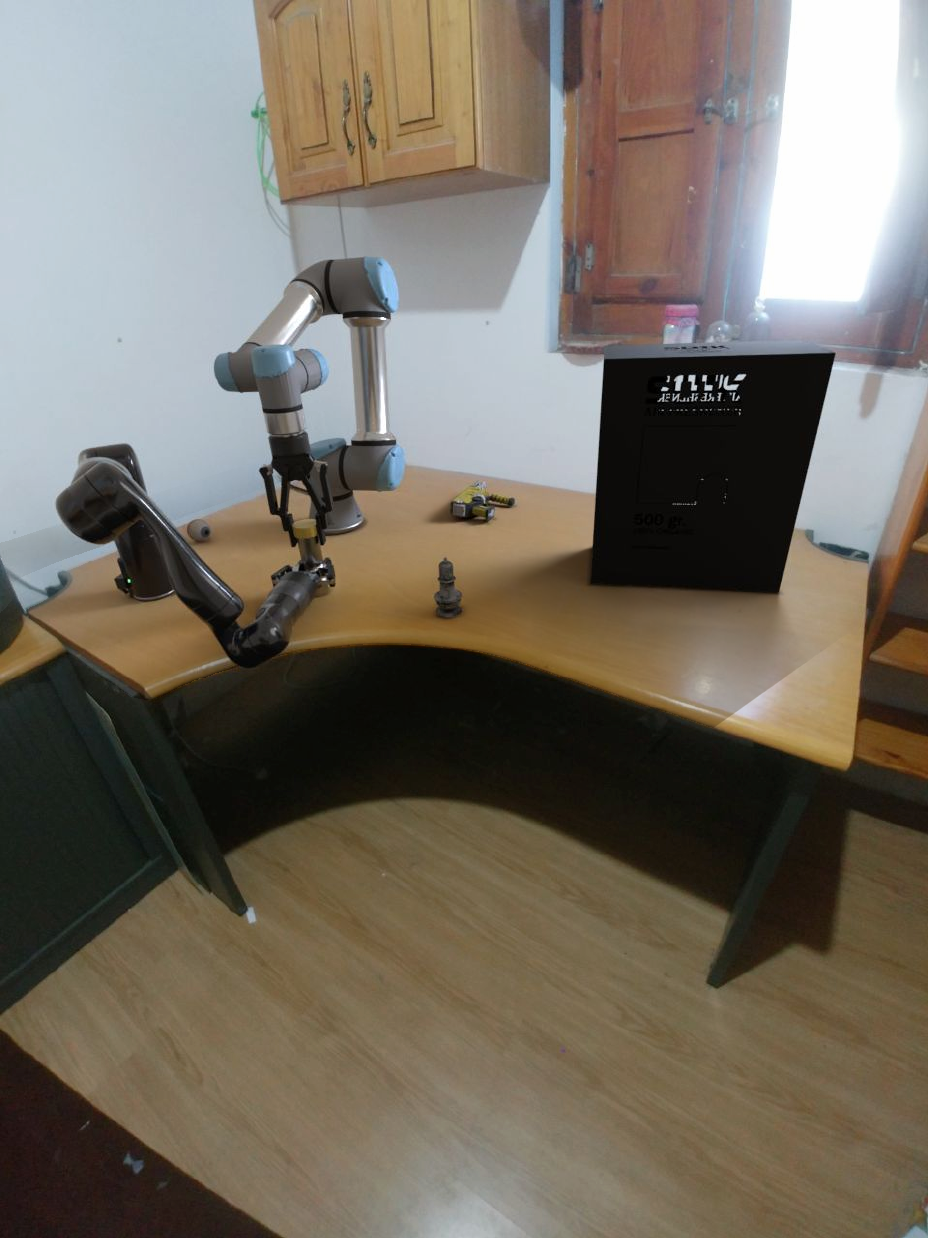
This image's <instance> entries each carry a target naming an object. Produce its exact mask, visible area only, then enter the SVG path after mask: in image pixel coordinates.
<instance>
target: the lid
mask: <svg viewBox="0 0 928 1238" xmlns="http://www.w3.org/2000/svg"><path fill="white" fill-rule="evenodd" d="M292 529H293V534H294V537H296V538H300V539H305V538H311V537H315V536H317V535H318V530H317V525H316V520H315V519H309V518H305V519H300V520H296V521H294V523H293V524H292ZM318 536H319V535H318Z"/></svg>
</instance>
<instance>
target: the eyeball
mask: <svg viewBox="0 0 928 1238" xmlns="http://www.w3.org/2000/svg"><path fill="white" fill-rule="evenodd" d="M186 533H187V535H188V537H189V538H190V539H191V540H192V541H194V542H205V541H207V540H208V539H209V538H210V537H211V534H212V527H211V524H210V523H209V522H207V520H204V519H201V518H195V519H193V520H191V521H190V522H189V523H187V527H186Z"/></svg>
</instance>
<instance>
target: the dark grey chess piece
mask: <svg viewBox="0 0 928 1238" xmlns="http://www.w3.org/2000/svg"><path fill="white" fill-rule="evenodd" d="M454 573H455V572H454V563H452V561H450V560H448V558H447V557H446V556H445V557H443V560H442V561H440V562H439V564H438V577H437V581H438V583H439V590H438V591H436V592H435V593H434V594H433V599H434V601H435V605H437V606H438V607H437V608H436V610H435V613H436V615H437V616H439V617H442V618H454V617H457V616H459V615H461V614H462V611H463V608H462V607H461V606H460V604H461V601H462V598H463V592H462V591H460V589H456V583H455V581H456V579H457V577H456V576H455V575H454Z"/></svg>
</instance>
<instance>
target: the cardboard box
mask: <svg viewBox="0 0 928 1238" xmlns="http://www.w3.org/2000/svg"><path fill="white" fill-rule="evenodd" d="M603 351H604V352H603V365H602V367H603V368H602V384H601V385H602V386H601V399H600V413H599V415H600V417H599V418H600V419H599V433H598V448H597V449H598V450H597V466H596V483H595V498H594V499H595V500H594V514H593V515H594V517H593V531H592V532H593V533H592V534H593V535H592V548H591V566H590V567H591V568H590V585H603V586H605V585H606V586H624V587H625V586H626V587H627V586H628V587H645V588H646V587H649V588H667V589H668V588H669V589H670V588H671V589H688V590H689V589H692V590H713V591H731V592H733V591H734V592H735V591H736V592H755V593H756V592H757V593H776V594H777V593H778V594H779V593H780V589H781V586H782V581H783V577H784V574H785V573H784V572H785V569H786V565H787V560H788V558H789V557H788V556H789V552H790V547H791V545H792V544H791V543H792V540H793V535H794V531H795V526H796V522H797V519H798V515H799V510H800V505H801V502H802V498H803V494H804V490H805V484H806V481H807V476H808V472H809V468H810V463H811V459H812V455H813V452H814V448H815V441H816V439H817V434H818V430H819V425H820V420H821V417H822V413H823V409H824V406H825V405H824V404H825V401H826V396H827V392H828V388H829V383H830V380H831V375H832V371H833V367H834V363H835V358H836V354H837V353H836V352H835V351H833V350H830V349H828V348H826V347H823V346H821V345H818V344H815V343H813V342H811V341H808V340H806V339H804V338H803V339H774V340H745V341H744V340H742V341H718V342H717V341H714V342H713V341H711V342H708V341H707V342H684V343H683V342H682V343H681V342H680V343H679V342H678V343H649V344H647V343H646V344H619V345H617V344H616V345H604V349H603ZM740 375H742V376H743V375H745V376H744V377H743V378H742V379H737V378H738V376H740ZM680 376H682V380H681V382H680V388H679V390H676V386H677V380H676V379H677V377H680ZM690 376H694V383H693V382H692V381H693V380H689V379H690ZM704 376H706V380H703V378H704ZM721 378H722V379H721ZM726 378H727V382H726V386H727V387H731V386H737V387H736V388H735V389H726V388H725V381H726ZM720 384H721V385H720ZM693 386H696V389H692V387H693ZM706 386H711V389H709V390H708V389H705V388H706ZM663 388H667V390H663Z"/></svg>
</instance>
